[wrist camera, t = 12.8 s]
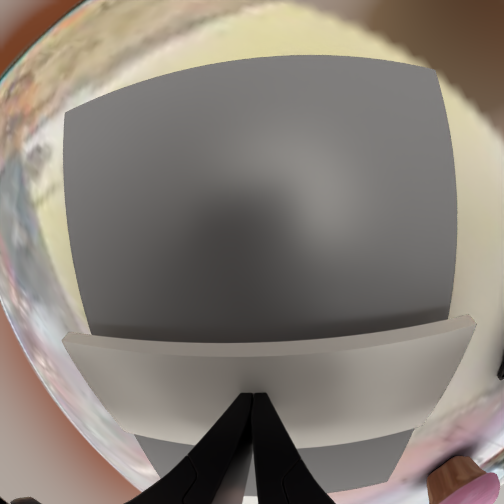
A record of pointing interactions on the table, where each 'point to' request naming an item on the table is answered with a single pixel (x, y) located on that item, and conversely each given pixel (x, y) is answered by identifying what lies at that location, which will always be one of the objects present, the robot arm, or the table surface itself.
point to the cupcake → (462, 483)
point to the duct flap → (276, 381)
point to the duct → (266, 215)
